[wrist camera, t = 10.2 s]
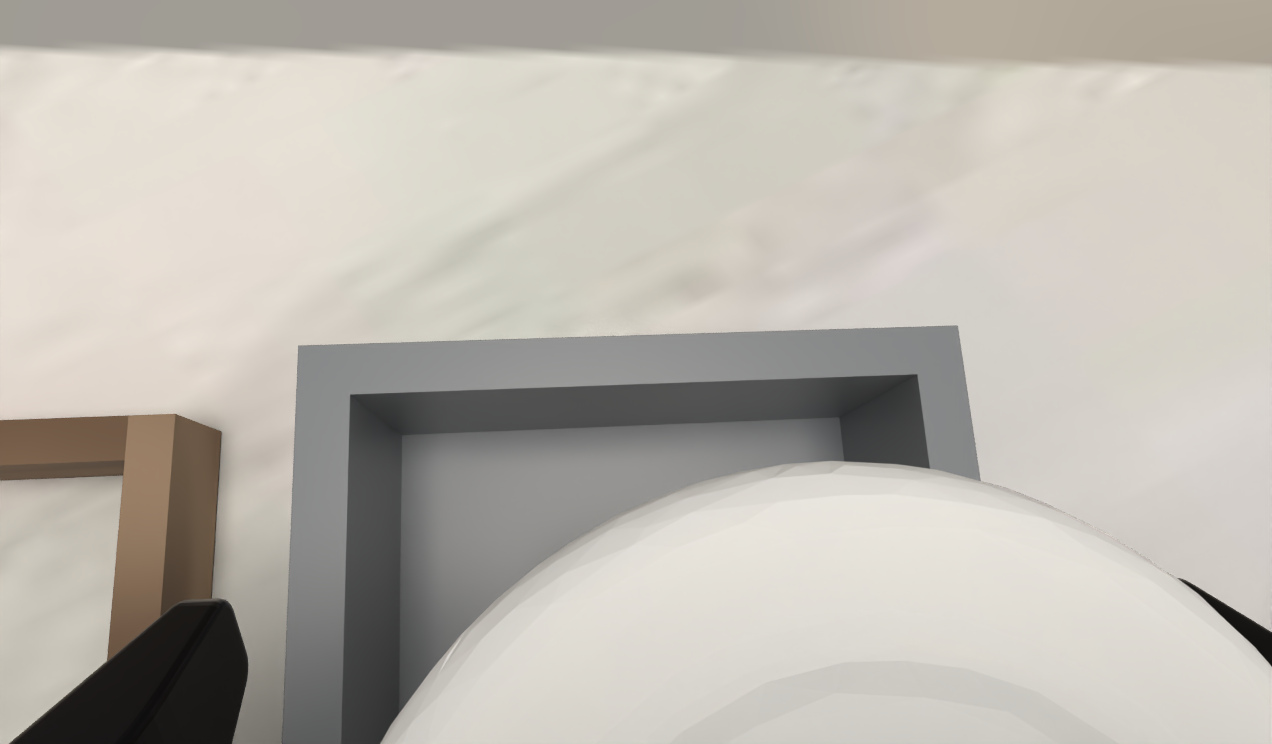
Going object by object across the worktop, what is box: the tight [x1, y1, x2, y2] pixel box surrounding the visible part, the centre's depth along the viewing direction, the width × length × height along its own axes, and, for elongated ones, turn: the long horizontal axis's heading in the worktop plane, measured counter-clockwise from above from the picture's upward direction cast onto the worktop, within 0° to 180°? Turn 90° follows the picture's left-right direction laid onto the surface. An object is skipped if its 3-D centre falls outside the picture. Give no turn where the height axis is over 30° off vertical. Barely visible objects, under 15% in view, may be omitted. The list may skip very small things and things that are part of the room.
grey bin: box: [282, 326, 981, 744], centre depth 14 cm, size 11×11×4 cm
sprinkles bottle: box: [380, 461, 1272, 744], centre depth 9 cm, size 5×5×13 cm
